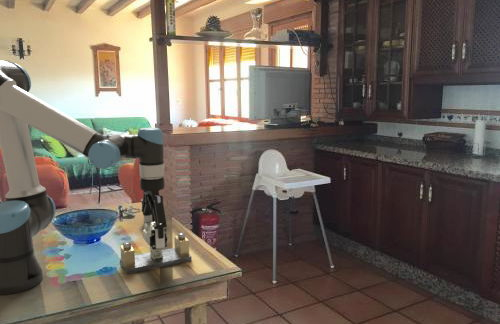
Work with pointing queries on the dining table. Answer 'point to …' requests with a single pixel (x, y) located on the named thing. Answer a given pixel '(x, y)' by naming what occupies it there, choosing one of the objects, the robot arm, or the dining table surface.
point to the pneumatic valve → (153, 240)
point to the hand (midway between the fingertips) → (154, 240)
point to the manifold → (146, 262)
